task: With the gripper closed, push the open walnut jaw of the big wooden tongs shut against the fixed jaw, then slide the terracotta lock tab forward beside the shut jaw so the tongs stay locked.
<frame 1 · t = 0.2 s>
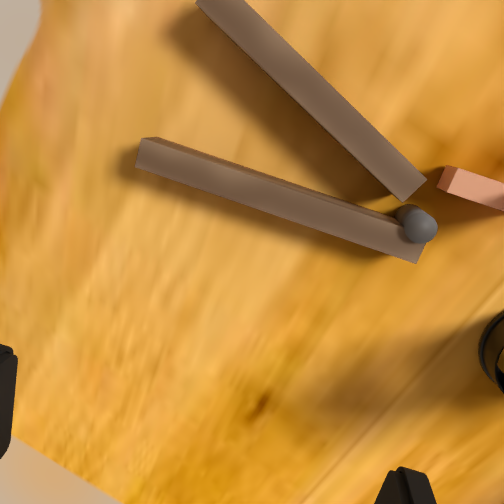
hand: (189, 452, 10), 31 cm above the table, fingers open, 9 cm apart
tongs jaw: (313, 95, 34), point 2 cm above the table, hinge at 24.0°
tongs fixed jaw: (408, 217, 38), on the table
lock tab: (495, 194, 33), point 3 cm above the table, slide at 0.0 cm
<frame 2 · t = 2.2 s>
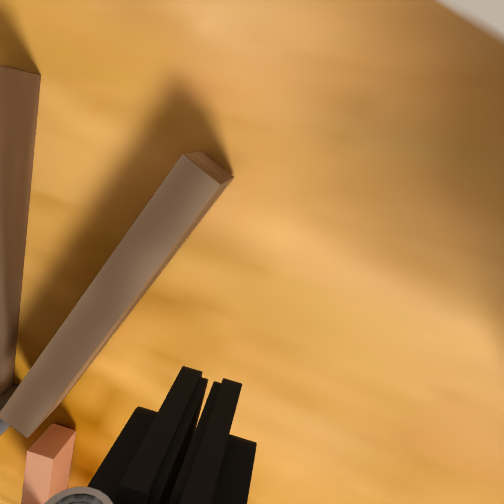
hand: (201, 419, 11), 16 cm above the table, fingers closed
tongs jaw: (110, 302, 27), point 2 cm above the table, hinge at 24.0°
tongs fixed jaw: (17, 397, 33), on the table
lock tab: (34, 493, 31), point 3 cm above the table, slide at 0.0 cm
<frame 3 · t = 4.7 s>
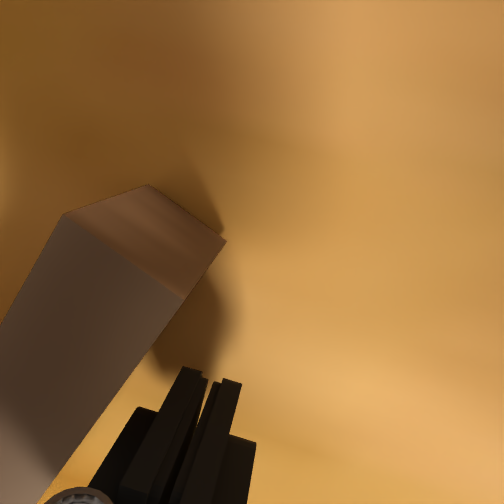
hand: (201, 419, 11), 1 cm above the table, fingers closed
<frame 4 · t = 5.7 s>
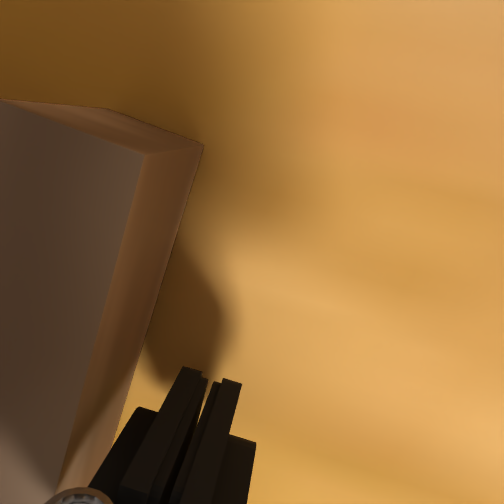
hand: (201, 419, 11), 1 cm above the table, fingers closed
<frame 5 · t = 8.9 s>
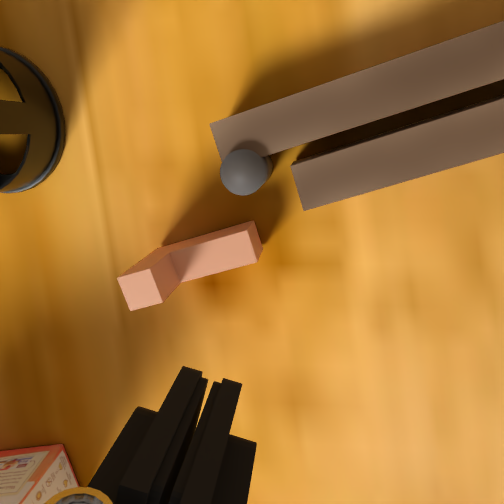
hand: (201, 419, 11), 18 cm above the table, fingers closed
tongs jaw: (500, 122, 22), point 2 cm above the table, hinge at -0.2°
tongs fixed jaw: (253, 166, 27), on the table
lock tab: (197, 262, 25), point 3 cm above the table, slide at 0.0 cm
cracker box: (8, 475, 37), on the table
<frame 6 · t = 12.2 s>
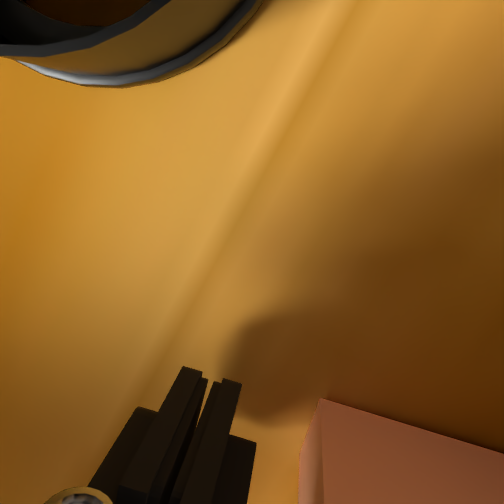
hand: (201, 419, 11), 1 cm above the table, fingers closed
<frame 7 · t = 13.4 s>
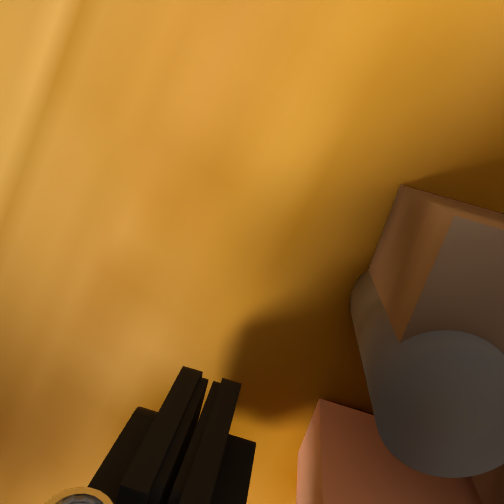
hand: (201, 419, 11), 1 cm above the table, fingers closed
tongs fixed jaw: (396, 303, 11), on the table
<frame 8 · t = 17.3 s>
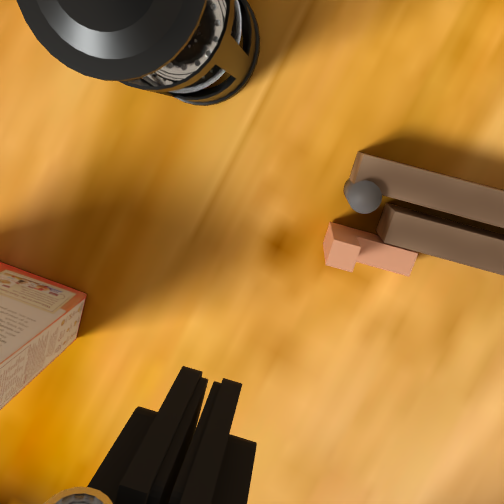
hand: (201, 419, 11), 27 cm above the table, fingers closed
tongs fixed jaw: (358, 189, 35), on the table
lock tab: (370, 253, 33), point 3 cm above the table, slide at 6.5 cm
french press: (197, 41, 34), on the table
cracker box: (21, 293, 43), on the table
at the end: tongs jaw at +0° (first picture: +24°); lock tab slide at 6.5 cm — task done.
